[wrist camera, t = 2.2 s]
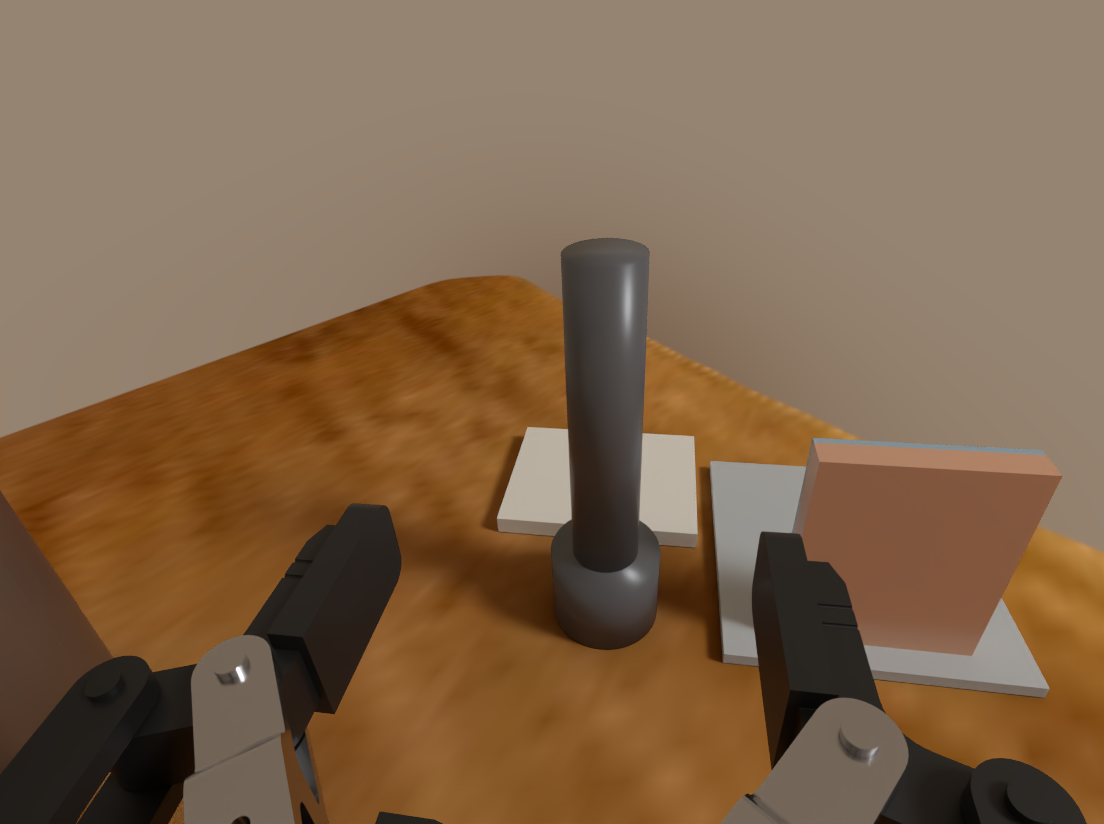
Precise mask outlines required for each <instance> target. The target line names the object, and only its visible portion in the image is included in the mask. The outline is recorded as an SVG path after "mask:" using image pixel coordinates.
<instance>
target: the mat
mask: <svg viewBox="0 0 1104 824" xmlns="http://www.w3.org/2000/svg"><path fill="white" fill-rule="evenodd" d="M805 470H806V467H801V466H785V465H768V464H752V463H735V462H719V461H710V481H711V495H712V510H713V525H714V540H715V555H716V570H717V585H718V599H719V614H720V629H721V644H722V659H723V663H732V664H741V665H750V666H759V664H758V656H757V648H756V640H755V632H754V624H753V616H752V583H753V577H754V570H755V564H756V557H757V551H758V544H759V538H760V534H761V532H762V531H766V532H781V533H792V530H793V525H794V521H795V516H796V511H797V507H798V502H799V498H800V493H801V489H802V484H803V479H804V475H805ZM864 648H865V652H866V655H867V658H868V662H869V665H870V669H871V672H872V676H873V679H878V680H887V681H897V682H906V683H915V684H924V685H933V686H942V687H951V688H960V689H970V690H979V691H988V692H997V693H1006V694H1015V695H1024V696H1034V697H1043V698H1044V697H1045V696H1046V694H1047V693H1048V691H1049V690H1050V688H1049V687H1048V685H1047V683H1046V681H1045V679H1044V677H1043V675H1042V673H1041V671H1040V670H1039V668H1038V666H1037V664H1036V662H1035V660H1034V658H1033V656H1032V654H1031V653H1030V651H1029V649H1028V647H1027V645H1026V643H1025V641H1024V639H1023V637H1022V636H1021V634H1020V632H1019V630H1018V628H1017V626H1016V624H1015V622H1014V620H1013V619H1012V617H1011V615H1010V613H1009V611H1008V609H1007V607H1006V605H1005V604H1004V602H1003V600H1002V598H1001V599H1000V601H999V603H998V605H997V607H996V609H995V611H994V613H993V615H992V617H991V619H990V621H989V623H988V625H987V627H986V629H985V631H984V633H983V635H982V637H981V639H980V641H979V643H978V645H977V647H976V649H975V651H974V653H973V655H972V656H966V655H956V654H947V653H937V652H927V651H917V650H907V649H897V648H888V647H878V646H868V645H864Z"/></svg>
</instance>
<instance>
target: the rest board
mask: <svg viewBox="0 0 1104 824" xmlns="http://www.w3.org/2000/svg"><path fill="white" fill-rule="evenodd" d="M570 520H571V494H570V469H569V444H568V429H552V428H533V427H528V428H527V431H526V434H525V437H524V440H523V442H522V445H521V448H520V451H519V454H518V457H517V460H516V463H515V466H514V469H513V472H512V475H511V478H510V481H509V484H508V487H507V490H506V493H505V496H504V499H503V502H502V505H501V507H500V510H499V513H498V516H497V524H498V532H510V533H522V534H535V535H547V536H555V534H556V533H557V532H558V530H559V529H560V528H561V527H562V526H563V525H564V524H565V523H567V522H568V521H570ZM639 520H640V521H641V522H643V523H644V524H646V525H647V526H648V527H649V528H650V529H651V530H652V531H653V533H654V534H655V536H656V537H657V539H658V542H659V545H669V546H681V547H693V548H696V544H697V535H698V532H697V505H696V478H695V451H694V436H680V435H661V434H643V437H642V463H641V489H640V515H639Z"/></svg>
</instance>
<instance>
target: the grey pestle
mask: <svg viewBox="0 0 1104 824" xmlns="http://www.w3.org/2000/svg"><path fill="white" fill-rule="evenodd" d="M649 253H650V252H649V249H648V248H647V247H646V246H645V245H643V244H640V243H638V242H635V241H631V240H626V239H618V238H598V239H590V240H584V241H580V242H577V243H573V244H571V245H569V246H567V247H566V248H564V249H563V250H562V252H561V269H562V270H561V271H562V295H563V320H564V345H565V370H566V395H567V420H568V444H569V469H570V494H571V520H570V521H568V522H567V523H565V524H564V525H563V526H562V527H561V528H560V529H559V530H558V532H557V533H556V534H555V536H554V538H553V541H552V545H551V557H552V572H553V587H554V602H555V614H556V618H557V620H558V623H559V625H560V626H561V628H562V629H563V630H564V632H565V633H566V634H567V635H568V636H569V637H571V638H572V639H573V640H575V641H577V642H578V643H580V644H583V645H585V646H588V647H591V648H595V649H604V650H611V649H619V648H623V647H627V646H629V645H632V644H634V643H636V642H637V641H639V640H640V639H642V638H643V637H644V636H645V635H646V634H647V633H648V632H649V631H650V629H651V628H652V626H653V624H654V621H655V618H656V611H657V596H658V581H659V565H660V545H659V542H658V539H657V537H656V536H655V534H654V533H653V531H652V530H651V529H650V528H649V527H648V526H647V525H646V524H644V523H643V522H641V521H640V520H639V515H640V489H641V463H642V437H643V411H644V384H645V358H646V332H647V305H648V279H649Z"/></svg>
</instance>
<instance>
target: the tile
mask: <svg viewBox="0 0 1104 824" xmlns="http://www.w3.org/2000/svg"><path fill="white" fill-rule="evenodd" d="M1061 478H1062V475H1061V474H1060V472H1059V471H1058V470H1057V469H1056V467H1055V466H1054V465H1053V464H1052V462H1051V461H1050V460H1049V458H1048V457H1047V456H1046V455H1045V453H1044V452H1043V451H1042V450H1029V449H1009V448H991V447H972V446H954V445H934V444H916V443H897V442H879V441H861V440H842V439H823V438H812V443H811V447H810V452H809V456H808V461H807V466H806V470H805V475H804V479H803V484H802V489H801V493H800V498H799V502H798V507H797V511H796V516H795V521H794V525H793V530H792V533H797V534H800V535H801V537H802V540H803V544H804V548H805V552H806V556H807V561H819V562H829V563H830V565H831V566H832V567H833V568H834V570H835V571H836V572H837V573H838V574H839V576H840V577H841V578H842V579H843V581H844V582H845V583H846V586H847V590H848V593H849V597H850V600H851V603H852V611H854V614H855V617H856V621H857V624H858V630H859V631H860V634H861V638H862V641H863V645H868V646H878V647H888V648H897V649H907V650H917V651H927V652H937V653H947V654H956V655H966V656H972V655H973V653H974V651H975V649H976V647H977V645H978V643H979V641H980V639H981V637H982V635H983V633H984V631H985V629H986V627H987V625H988V623H989V621H990V619H991V617H992V615H993V613H994V611H995V609H996V607H997V605H998V603H999V601H1000V599H1001V597H1002V595H1003V593H1004V591H1005V589H1006V587H1007V585H1008V583H1009V581H1010V579H1011V577H1012V575H1013V573H1014V571H1015V569H1016V567H1017V565H1018V563H1019V561H1020V559H1021V557H1022V555H1023V553H1024V551H1025V549H1026V547H1027V545H1028V543H1029V541H1030V539H1031V537H1032V535H1033V533H1034V531H1035V530H1036V528H1037V526H1038V524H1039V522H1040V520H1041V517H1042V515H1043V514H1044V512H1045V510H1046V508H1047V506H1048V504H1049V501H1050V500H1051V497H1052V496H1053V494H1054V492H1055V490H1056V488H1057V486H1058V484H1059V482H1060V480H1061Z"/></svg>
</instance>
